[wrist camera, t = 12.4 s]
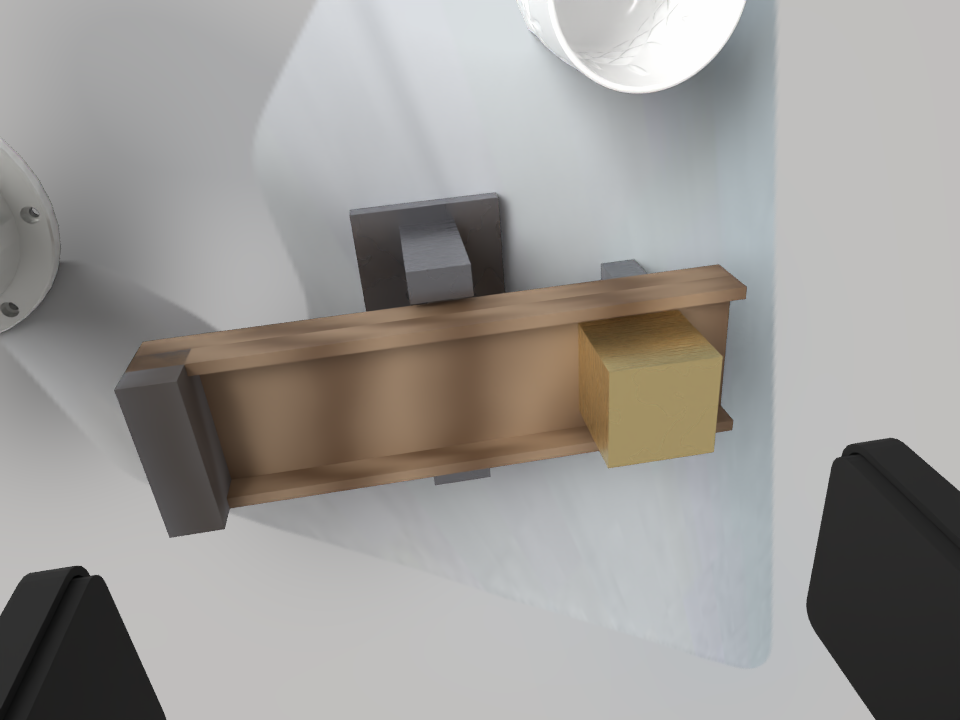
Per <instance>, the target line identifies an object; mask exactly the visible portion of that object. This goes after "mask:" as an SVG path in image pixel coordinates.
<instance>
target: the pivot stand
mask: <svg viewBox="0 0 960 720" xmlns="http://www.w3.org/2000/svg"><path fill="white" fill-rule="evenodd" d="M350 220H351V226H352V232H353V238H354V243H355V249H356V255H357V261H358V267H359V273H360V278H361V284H362V290H363V296H364V302H365V307H366V312H368V311H376V310H383V309H390V308H398V307H405V306H413V305H420V304H427V303H428V302H433V301H441V300H448V299H454V300H458V299H465V298H472V297H480V296H487V295H495V294H502V293H505V286H504V272H503V258H502V244H501V230H500V216H499V201H498V196H497V195H496V193H487V194H479V195H471V196H462V197H454V198H446V199H437V200H429V201H421V202H413V203H404V204H396V205H388V206H379V207H371V208H363V209H354V210H350ZM485 477H490V468H486V469H479V470H473V471H466V472H460V473H453V474H447V475H441V476H434V480H435V485H440V484H446V483H453V482H459V481H466V480H472V479H479V478H485Z"/></svg>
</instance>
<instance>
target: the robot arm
mask: <svg viewBox="0 0 960 720" xmlns="http://www.w3.org/2000/svg"><path fill="white" fill-rule="evenodd" d="M32 208H34V209H36V210H37V211H38V213H39V215H37V214H35V213H34V212H33V211H32ZM60 250H61V245H60V235H59V226H58V223H57V219H56V216H55V213H54V210H53V207H52V204H51V201H50V199H49V198H48V196H47V194H46V192H45V190H44V188H43V186H42V184H41V183H40V181H39V179H38V178H37V176H36V175H35V174H34V172H33V171H32V170H31V169H30V167H29V166H28V165H27V163H26V162H25V161H24V160H23V158H22V157H21V156H20V155H19V154H18V153H17V152H16V151H15V150H14V149H13V148H12V147H10V146H9V145H8V144H7V143H6V142H5V141H4V140H3V139H2V138H1V137H0V333H1V332H3V331H6V330H8V329H10V328H12V327H13V326H15V325H16V324H18V323H19V322H20V321H22V320H23V319H25V318H26V317H27V316H28V315H29V314H30V313H31V312H32V311H33V310H34V309H35V308H36V307H37V306H38V305H39V304H40V303H41V302H42V300H43V299H44V297H45V296H46V294H47V293H48V291H49V290H50V289H51V287H52V284H53V282H54V279H55V276H56V274H57V271H58V268H59V259H60ZM14 304H15V305H16V306H15V305H14ZM806 607H807V613H808V617H809V620H810V623H811V625H812V627H813V629H814V630H815V632H816V634H817V635H818V637H819V638H820V640H821V641H822V642H823V644H824V645H825V647H826V648H827V650H828V651H829V653H830V654H831V656H832V657H833V658H834V660H835V661H836V663H837V664H838V666H839V667H840V669H841V670H842V672H843V673H844V674H845V676H846V677H847V679H848V680H849V682H850V683H851V685H852V686H853V687H854V689H855V690H856V692H857V693H858V695H859V696H860V698H861V699H862V701H863V702H864V704H865V705H866V706H867V708H868V709H869V711H870V712H871V714H872V715H873V717H874V718H875V719H876V720H960V491H959V490H957V489H956V488H955V487H954V486H953V485H952V484H950V483H949V482H948V481H947V480H946V479H945V478H944V477H942V476H941V475H940V474H939V473H938V472H937V471H935V470H934V469H933V468H932V467H931V466H930V465H928V464H927V463H926V462H925V461H924V460H923V459H922V458H921V457H919V456H918V455H917V454H916V453H915V452H914V451H912V450H911V449H910V448H909V447H908V446H906V445H905V444H904V443H903V442H901V441H900V440H898V439H894V438H887V439H880V440H874V441H868V442H861V443H855V444H851V445H848V446H847V447H846V448H845V449H844V450H843V453H842V456H841V457H839V458H836V459H835V460H834V462H833V464H832V467H831V473H830V478H829V483H828V489H827V494H826V499H825V505H824V511H823V516H822V521H821V526H820V532H819V537H818V542H817V548H816V553H815V559H814V564H813V569H812V574H811V580H810V586H809V591H808V596H807V603H806ZM0 720H166V717H165V714H164V712H163V710H162V707H161V705H160V703H159V701H158V699H157V696H156V694H155V692H154V689H153V687H152V685H151V683H150V681H149V678H148V677H147V674H146V672H145V669H144V667H143V665H142V663H141V661H140V659H139V656H138V654H137V652H136V650H135V647H134V645H133V643H132V641H131V639H130V636H129V634H128V632H127V629H126V627H125V625H124V623H123V621H122V618H121V616H120V614H119V612H118V609H117V607H116V605H115V603H114V601H113V598H112V596H111V594H110V592H109V590H108V587H107V585H106V583H105V581H104V580H103V578H102V577H101V576H99V575H94V576H90V575H89V573H88V571H87V570H86V569H85V568H83V567H82V566H72V567H65V568H59V569H53V570H46V571H40V572H34V573H29V574H27V575H26V576H24V577H23V579H22V580H21V581H20V582H19V584H18V586H17V587H16V589H15V591H14V593H13V594H12V596H11V598H10V600H9V601H8V603H7V605H6V607H5V608H4V610H3V612H2V614H1V616H0Z"/></svg>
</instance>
